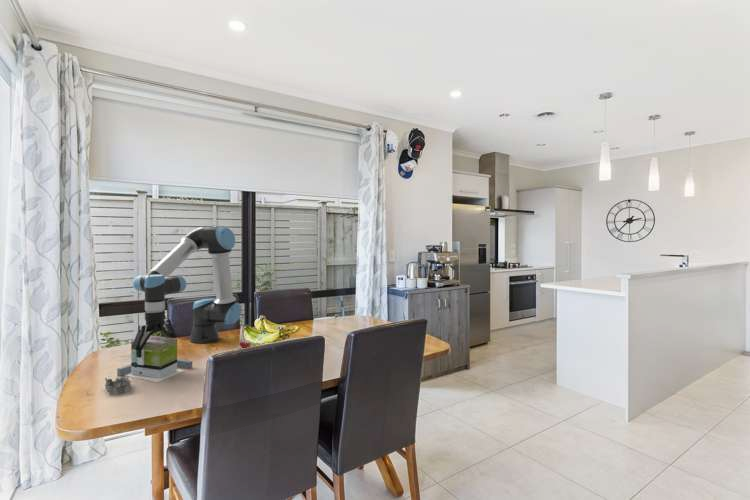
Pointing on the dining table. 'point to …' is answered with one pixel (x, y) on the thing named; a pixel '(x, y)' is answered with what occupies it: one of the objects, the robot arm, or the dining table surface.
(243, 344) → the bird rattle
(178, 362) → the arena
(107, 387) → the egg carton
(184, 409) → the dining table surface
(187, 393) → the dining table surface
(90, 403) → the dining table surface
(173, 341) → the tea box
